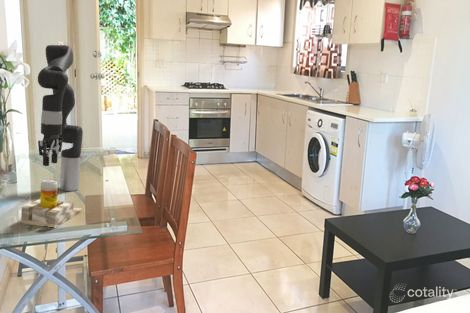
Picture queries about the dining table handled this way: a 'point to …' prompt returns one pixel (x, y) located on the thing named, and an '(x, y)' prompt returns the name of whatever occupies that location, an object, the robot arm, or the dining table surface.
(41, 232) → the dining table surface
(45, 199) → the yellow and white bottle
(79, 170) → the robot arm
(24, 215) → the jig
